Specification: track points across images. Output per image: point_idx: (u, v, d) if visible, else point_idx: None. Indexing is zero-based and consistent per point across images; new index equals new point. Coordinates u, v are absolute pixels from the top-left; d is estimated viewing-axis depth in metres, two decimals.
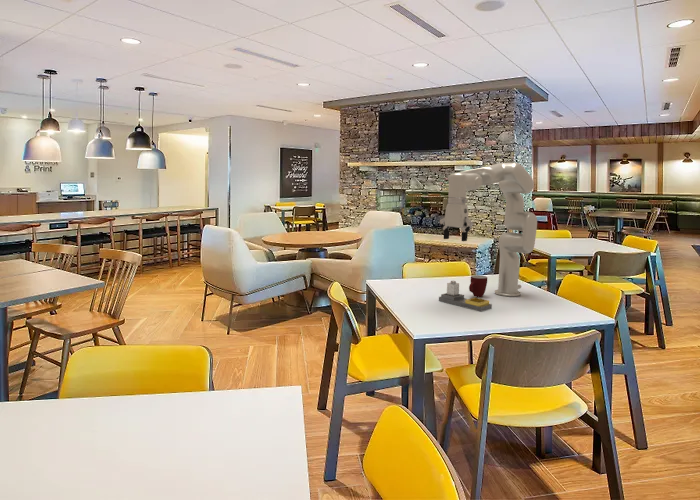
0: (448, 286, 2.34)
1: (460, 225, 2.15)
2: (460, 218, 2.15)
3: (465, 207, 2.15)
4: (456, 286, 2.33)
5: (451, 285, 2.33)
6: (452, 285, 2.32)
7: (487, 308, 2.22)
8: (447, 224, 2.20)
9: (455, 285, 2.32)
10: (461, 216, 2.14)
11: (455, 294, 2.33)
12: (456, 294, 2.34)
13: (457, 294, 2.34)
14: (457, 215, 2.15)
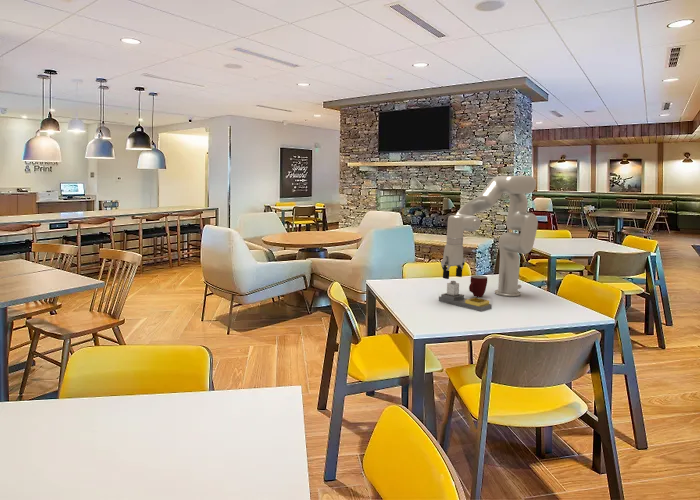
0: (448, 286, 2.34)
1: (461, 263, 2.34)
2: (462, 256, 2.33)
3: None
4: (456, 286, 2.33)
5: (451, 285, 2.33)
6: (452, 285, 2.32)
7: (487, 308, 2.22)
8: (452, 264, 2.29)
9: (455, 285, 2.32)
10: None
11: (455, 294, 2.33)
12: (456, 294, 2.34)
13: (457, 294, 2.34)
14: (461, 254, 2.32)
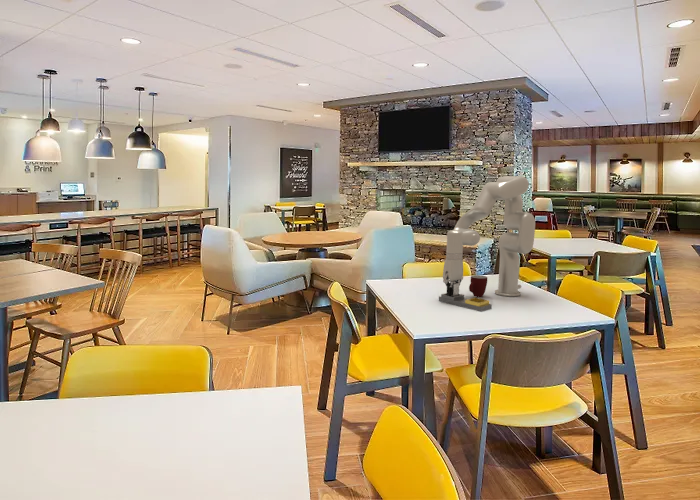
0: None
1: (462, 277, 2.35)
2: (462, 271, 2.34)
3: None
4: (456, 286, 2.33)
5: None
6: (452, 285, 2.32)
7: (487, 308, 2.22)
8: (452, 279, 2.30)
9: (455, 285, 2.32)
10: (462, 269, 2.34)
11: (455, 294, 2.33)
12: (456, 294, 2.34)
13: (457, 294, 2.34)
14: (460, 269, 2.33)
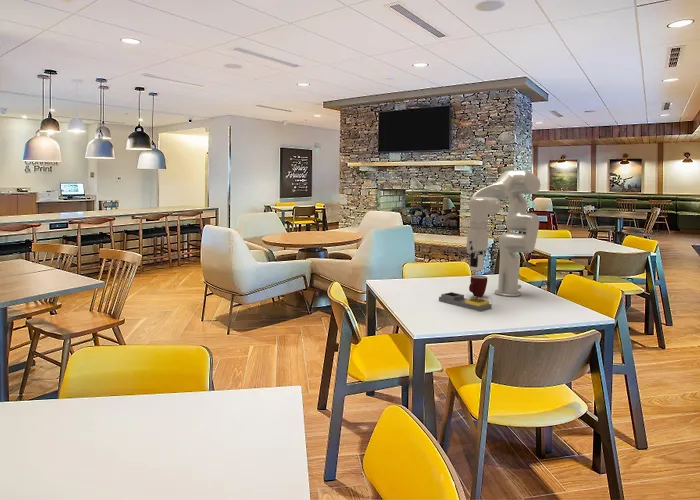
0: None
1: (486, 248, 2.23)
2: (487, 241, 2.22)
3: None
4: (480, 257, 2.21)
5: None
6: (476, 256, 2.20)
7: (487, 308, 2.22)
8: (477, 249, 2.19)
9: (479, 256, 2.20)
10: (487, 239, 2.23)
11: (479, 266, 2.21)
12: (480, 266, 2.22)
13: (481, 266, 2.22)
14: (485, 239, 2.21)
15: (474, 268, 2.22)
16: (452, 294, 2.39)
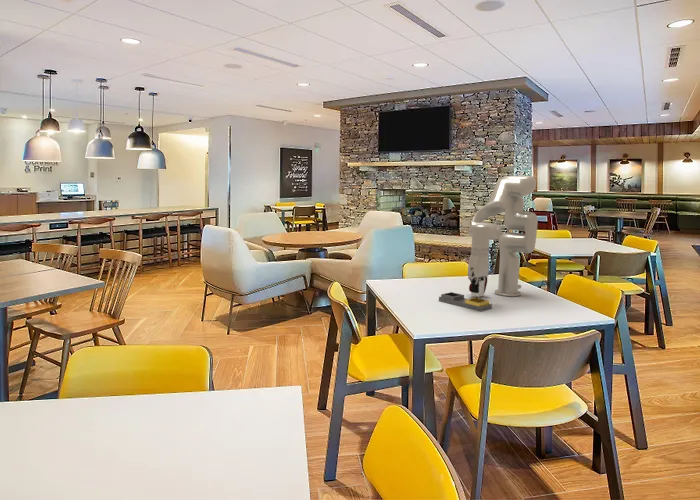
0: None
1: (487, 274, 2.24)
2: (488, 267, 2.23)
3: None
4: (481, 283, 2.22)
5: None
6: None
7: (487, 308, 2.22)
8: (478, 275, 2.19)
9: (480, 282, 2.21)
10: (488, 265, 2.23)
11: (480, 292, 2.22)
12: (481, 291, 2.22)
13: (482, 291, 2.23)
14: (486, 265, 2.22)
15: (475, 294, 2.22)
16: (452, 294, 2.39)
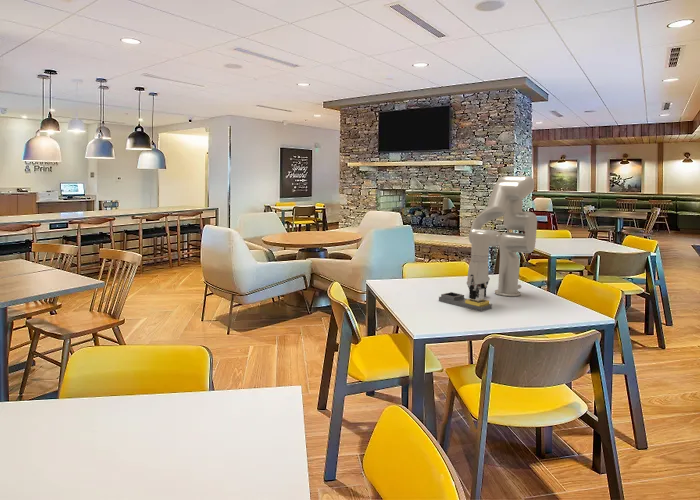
0: None
1: (487, 280, 2.24)
2: (487, 274, 2.24)
3: None
4: (481, 291, 2.22)
5: (476, 290, 2.22)
6: (477, 290, 2.22)
7: (487, 308, 2.22)
8: (478, 282, 2.20)
9: (480, 290, 2.22)
10: (488, 272, 2.24)
11: (480, 300, 2.23)
12: (481, 300, 2.23)
13: (482, 300, 2.24)
14: (486, 272, 2.22)
15: None
16: (452, 294, 2.39)
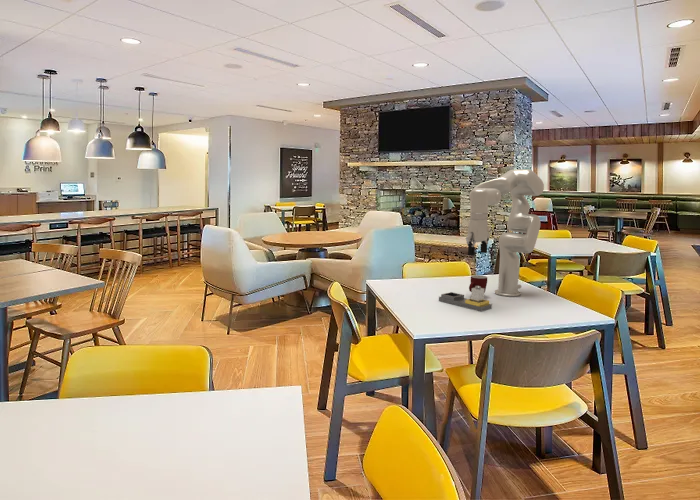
0: (473, 291, 2.24)
1: (486, 238, 2.26)
2: (487, 232, 2.26)
3: None
4: (481, 291, 2.22)
5: (476, 290, 2.22)
6: (477, 290, 2.22)
7: (487, 308, 2.22)
8: (478, 240, 2.22)
9: (480, 290, 2.22)
10: (487, 230, 2.26)
11: (480, 300, 2.23)
12: (481, 300, 2.23)
13: (482, 300, 2.24)
14: (485, 229, 2.24)
15: None
16: (452, 294, 2.39)
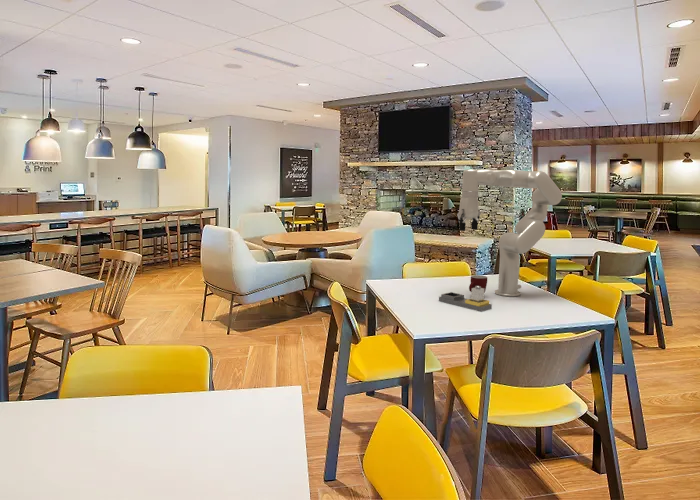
0: (473, 291, 2.24)
1: (477, 216, 2.42)
2: (477, 209, 2.41)
3: None
4: (481, 291, 2.22)
5: (476, 290, 2.22)
6: (477, 290, 2.22)
7: (487, 308, 2.22)
8: (468, 216, 2.38)
9: (480, 290, 2.22)
10: None
11: (480, 300, 2.23)
12: (481, 300, 2.23)
13: (482, 300, 2.24)
14: (476, 207, 2.40)
15: None
16: (452, 294, 2.39)
